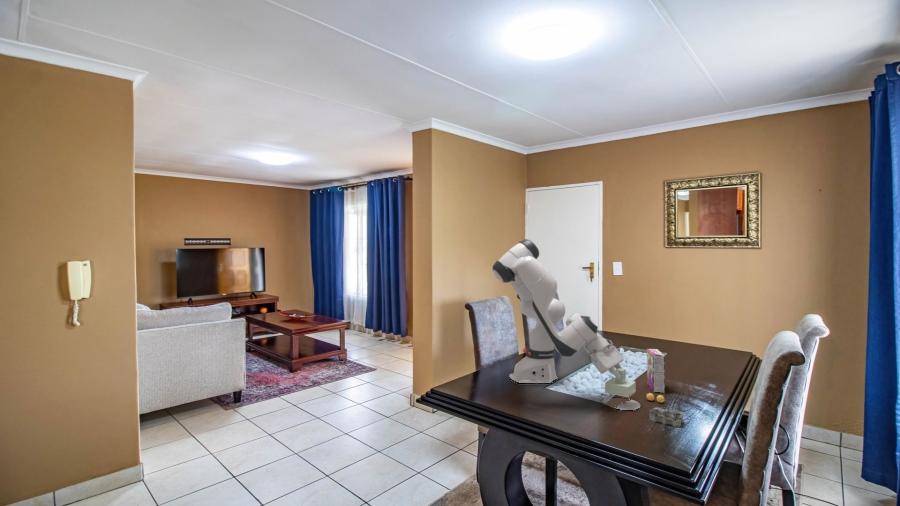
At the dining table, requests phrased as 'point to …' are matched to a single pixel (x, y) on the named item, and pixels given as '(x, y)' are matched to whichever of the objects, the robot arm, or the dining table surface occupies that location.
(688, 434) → the dining table surface
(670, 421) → the egg carton
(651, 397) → the amber marble
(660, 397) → the amber marble
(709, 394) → the dining table surface
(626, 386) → the sage cover
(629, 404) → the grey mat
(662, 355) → the candy bar box
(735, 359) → the dining table surface
